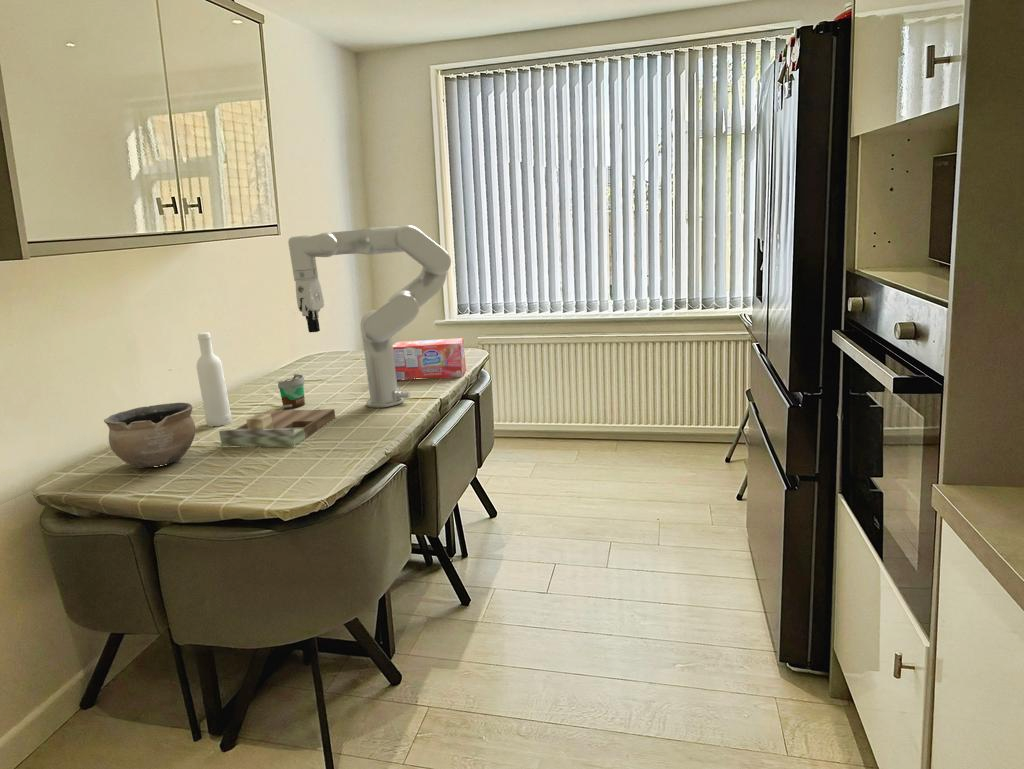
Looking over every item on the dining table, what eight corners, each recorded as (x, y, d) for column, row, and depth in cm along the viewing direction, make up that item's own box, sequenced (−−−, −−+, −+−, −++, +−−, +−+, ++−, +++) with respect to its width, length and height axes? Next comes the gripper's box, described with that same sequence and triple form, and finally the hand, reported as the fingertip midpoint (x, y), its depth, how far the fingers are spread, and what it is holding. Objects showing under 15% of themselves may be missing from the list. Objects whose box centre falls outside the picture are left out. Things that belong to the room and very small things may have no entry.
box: (467, 370, 298) (463, 335, 295) (463, 377, 285) (459, 341, 282) (400, 374, 300) (395, 340, 296) (393, 382, 287) (389, 346, 284)
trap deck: (335, 418, 241) (333, 403, 240) (294, 446, 215) (291, 429, 214) (270, 419, 246) (267, 404, 245) (222, 447, 220) (219, 430, 218)
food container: (298, 410, 255) (294, 381, 253) (281, 410, 257) (277, 382, 254) (314, 400, 267) (310, 373, 265) (298, 401, 268) (294, 373, 266)
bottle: (207, 422, 249) (190, 333, 242) (232, 418, 252) (216, 330, 245) (206, 428, 242) (189, 336, 235) (232, 424, 244) (216, 333, 237)
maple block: (273, 430, 222) (270, 414, 221) (264, 435, 217) (262, 419, 216) (258, 430, 223) (255, 414, 222) (249, 435, 218) (246, 419, 217)
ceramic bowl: (111, 483, 196) (99, 428, 192) (117, 460, 215) (106, 410, 212) (202, 465, 204) (192, 412, 201) (200, 445, 224) (191, 396, 220)
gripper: (306, 276, 233) (315, 335, 237) (326, 271, 247) (334, 327, 251) (283, 278, 234) (293, 336, 239) (305, 273, 249) (313, 328, 253)
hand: (314, 331), depth 245 cm, fingers closed
